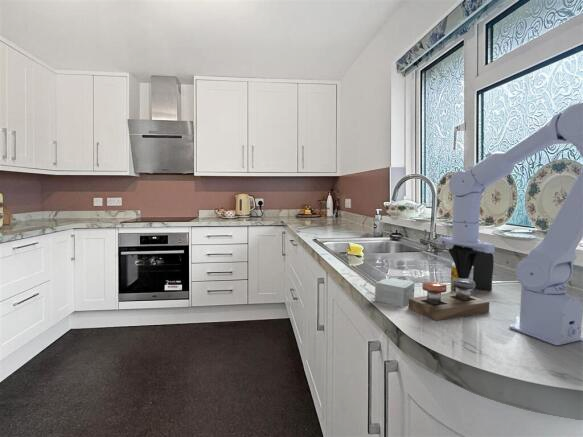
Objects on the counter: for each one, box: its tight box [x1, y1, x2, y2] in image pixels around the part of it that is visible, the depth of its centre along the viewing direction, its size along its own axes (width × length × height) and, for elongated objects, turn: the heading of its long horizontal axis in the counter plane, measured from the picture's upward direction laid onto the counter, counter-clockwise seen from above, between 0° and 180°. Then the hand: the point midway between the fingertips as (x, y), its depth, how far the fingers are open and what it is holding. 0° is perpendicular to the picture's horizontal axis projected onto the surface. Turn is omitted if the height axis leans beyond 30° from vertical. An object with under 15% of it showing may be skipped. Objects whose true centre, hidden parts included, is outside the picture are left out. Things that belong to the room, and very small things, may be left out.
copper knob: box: [421, 281, 447, 304], centre depth 82 cm, size 5×5×4 cm
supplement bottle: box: [450, 262, 474, 295], centre depth 98 cm, size 6×6×10 cm
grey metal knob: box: [450, 279, 475, 300], centre depth 85 cm, size 5×5×4 cm
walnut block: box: [407, 292, 490, 322], centre depth 83 cm, size 9×16×2 cm, turn 111°
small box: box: [374, 277, 415, 308], centre depth 91 cm, size 8×8×5 cm
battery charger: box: [473, 251, 495, 291], centre depth 103 cm, size 7×4×11 cm, turn 66°
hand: (463, 277), depth 85 cm, fingers closed
